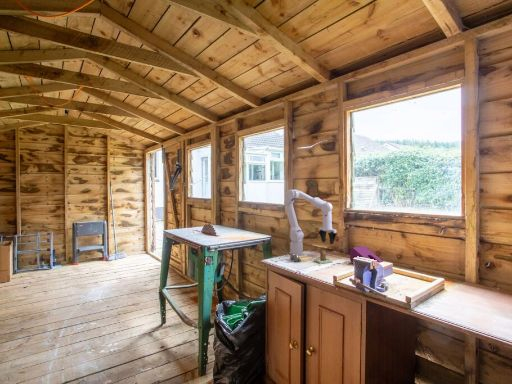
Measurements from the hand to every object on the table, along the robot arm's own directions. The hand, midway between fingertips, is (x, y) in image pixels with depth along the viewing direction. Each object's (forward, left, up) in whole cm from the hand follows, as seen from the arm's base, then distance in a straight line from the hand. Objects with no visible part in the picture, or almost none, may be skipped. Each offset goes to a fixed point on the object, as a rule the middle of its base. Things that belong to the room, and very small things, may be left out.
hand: (327, 243), depth 187 cm
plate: (0, -17, -10) cm, 20 cm away
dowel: (+8, -8, -9) cm, 14 cm away
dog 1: (-3, -23, -9) cm, 25 cm away
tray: (+8, -8, -9) cm, 15 cm away
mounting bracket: (+24, +12, -10) cm, 29 cm away
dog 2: (+2, -23, -9) cm, 25 cm away
